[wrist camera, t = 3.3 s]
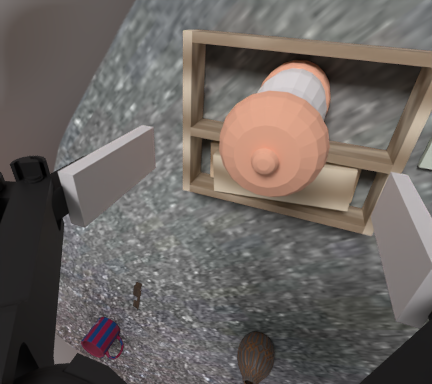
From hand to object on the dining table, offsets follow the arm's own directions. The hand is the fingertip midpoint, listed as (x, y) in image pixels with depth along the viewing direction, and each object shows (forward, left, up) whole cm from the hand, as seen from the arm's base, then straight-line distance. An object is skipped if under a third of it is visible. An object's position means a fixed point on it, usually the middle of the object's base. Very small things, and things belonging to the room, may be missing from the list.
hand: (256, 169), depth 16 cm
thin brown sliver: (+48, -25, -20) cm, 57 cm away
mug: (+66, -34, -20) cm, 77 cm away
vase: (+47, +3, -20) cm, 51 cm away
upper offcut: (+9, +1, -18) cm, 20 cm away
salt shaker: (0, 0, -20) cm, 20 cm away
